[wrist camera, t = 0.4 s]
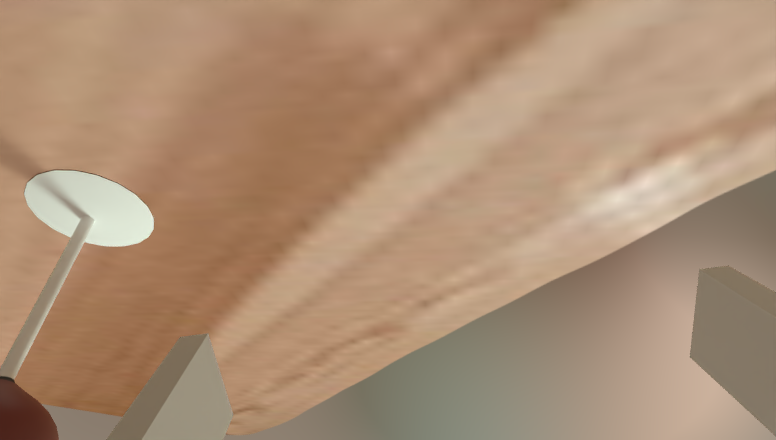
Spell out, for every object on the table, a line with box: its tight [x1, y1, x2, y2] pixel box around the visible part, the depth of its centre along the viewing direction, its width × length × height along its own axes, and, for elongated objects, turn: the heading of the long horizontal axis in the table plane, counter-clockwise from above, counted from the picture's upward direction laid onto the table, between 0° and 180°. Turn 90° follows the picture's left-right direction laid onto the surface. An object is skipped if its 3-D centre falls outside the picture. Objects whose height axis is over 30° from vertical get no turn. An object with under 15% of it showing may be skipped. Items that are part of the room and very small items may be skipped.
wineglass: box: [0, 170, 154, 440], centre depth 23 cm, size 8×9×20 cm
